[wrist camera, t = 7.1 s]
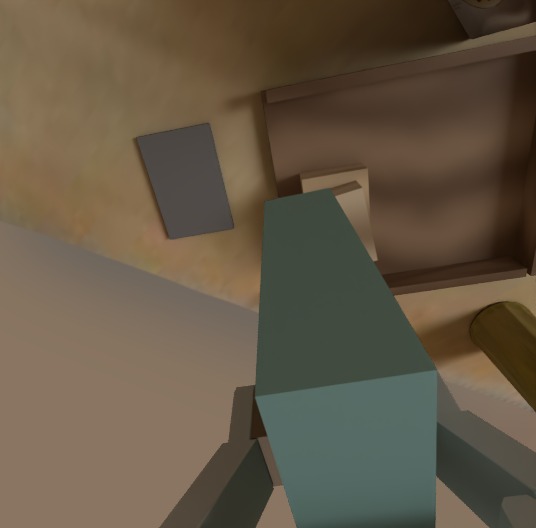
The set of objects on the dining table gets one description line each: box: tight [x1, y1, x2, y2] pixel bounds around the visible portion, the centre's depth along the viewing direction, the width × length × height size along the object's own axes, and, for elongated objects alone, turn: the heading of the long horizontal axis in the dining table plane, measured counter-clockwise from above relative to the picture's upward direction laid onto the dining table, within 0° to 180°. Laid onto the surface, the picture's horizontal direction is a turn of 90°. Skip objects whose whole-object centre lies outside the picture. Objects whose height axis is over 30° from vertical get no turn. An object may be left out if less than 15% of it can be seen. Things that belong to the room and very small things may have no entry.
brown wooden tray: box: [261, 36, 536, 296], centre depth 28 cm, size 18×21×4 cm
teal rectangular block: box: [255, 188, 437, 528], centre depth 9 cm, size 9×2×8 cm, turn 12°
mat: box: [136, 123, 234, 239], centre depth 30 cm, size 9×6×1 cm, turn 10°
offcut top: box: [330, 180, 378, 261], centre depth 27 cm, size 6×4×2 cm, turn 18°
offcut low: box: [300, 163, 371, 226], centre depth 29 cm, size 8×5×2 cm, turn 10°
